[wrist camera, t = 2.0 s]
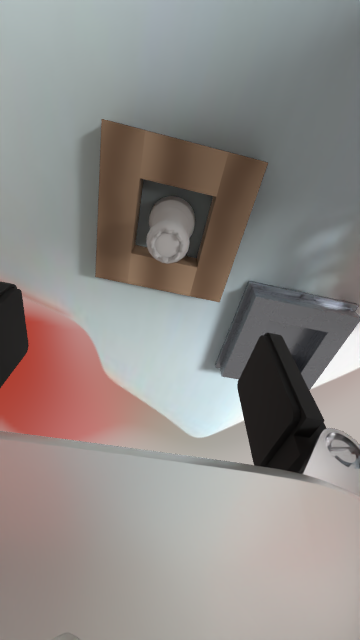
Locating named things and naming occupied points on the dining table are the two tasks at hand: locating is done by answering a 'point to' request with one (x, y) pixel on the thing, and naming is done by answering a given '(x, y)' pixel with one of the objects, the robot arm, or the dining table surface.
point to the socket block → (183, 172)
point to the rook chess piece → (170, 229)
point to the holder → (288, 328)
